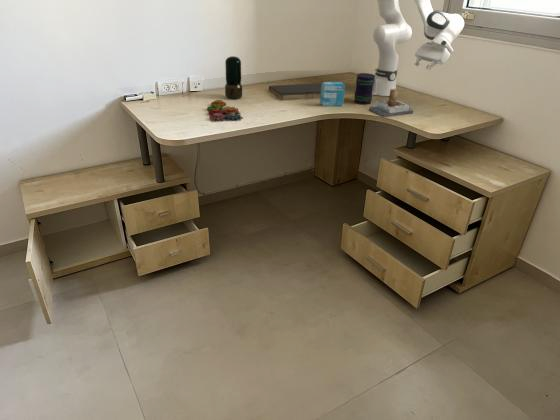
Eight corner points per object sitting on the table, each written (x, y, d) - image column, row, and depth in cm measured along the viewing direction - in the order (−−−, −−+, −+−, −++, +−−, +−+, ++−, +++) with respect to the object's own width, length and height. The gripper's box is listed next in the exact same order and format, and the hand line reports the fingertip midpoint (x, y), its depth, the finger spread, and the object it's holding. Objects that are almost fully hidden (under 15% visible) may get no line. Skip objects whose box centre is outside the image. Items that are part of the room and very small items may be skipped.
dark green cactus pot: (223, 95, 242) (222, 55, 232) (240, 94, 245) (239, 54, 234) (227, 100, 235) (226, 58, 224) (244, 99, 237) (243, 58, 226)
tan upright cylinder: (381, 107, 228) (384, 88, 223) (392, 106, 230) (395, 87, 225) (390, 111, 222) (393, 92, 217) (400, 110, 225) (404, 90, 220)
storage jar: (374, 102, 241) (378, 75, 234) (364, 105, 235) (368, 78, 227) (360, 98, 247) (363, 72, 239) (350, 101, 241) (353, 74, 233)
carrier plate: (368, 109, 228) (370, 101, 226) (397, 106, 236) (398, 98, 233) (384, 117, 218) (385, 108, 216) (412, 113, 226) (414, 104, 223)
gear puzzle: (204, 104, 228) (204, 96, 226) (234, 103, 232) (234, 96, 230) (210, 123, 202) (210, 114, 200) (244, 121, 206) (244, 113, 204)
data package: (321, 106, 231) (323, 83, 225) (319, 104, 235) (321, 81, 229) (343, 106, 233) (345, 83, 227) (340, 103, 237) (343, 81, 231)
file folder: (282, 94, 236) (268, 84, 256) (282, 101, 238) (268, 91, 258) (336, 91, 246) (319, 81, 266) (335, 98, 248) (318, 88, 268)
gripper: (423, 38, 226) (405, 59, 228) (450, 43, 209) (431, 66, 211) (428, 45, 229) (411, 67, 231) (456, 52, 213) (437, 74, 215)
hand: (421, 67), depth 221 cm, fingers open, 8 cm apart
